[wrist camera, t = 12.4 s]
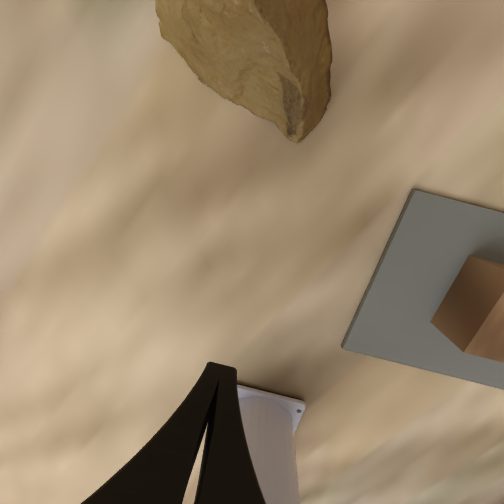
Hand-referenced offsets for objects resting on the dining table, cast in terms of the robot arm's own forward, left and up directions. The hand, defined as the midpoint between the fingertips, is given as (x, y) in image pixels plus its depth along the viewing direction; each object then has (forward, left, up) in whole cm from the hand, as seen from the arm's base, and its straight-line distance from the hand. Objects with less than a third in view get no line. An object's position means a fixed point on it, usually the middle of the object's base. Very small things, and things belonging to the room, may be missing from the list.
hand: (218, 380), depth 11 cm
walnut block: (+5, -16, -7) cm, 18 cm away
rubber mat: (+4, -18, -9) cm, 21 cm away
